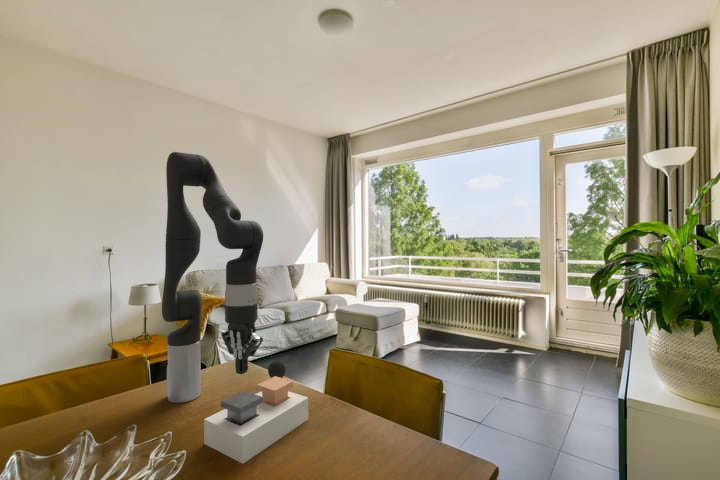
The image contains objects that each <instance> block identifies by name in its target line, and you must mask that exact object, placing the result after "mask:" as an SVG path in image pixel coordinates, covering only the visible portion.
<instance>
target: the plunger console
mask: <svg viewBox="0 0 720 480" xmlns="http://www.w3.org/2000/svg"><path fill="white" fill-rule="evenodd" d="M254 394H255V395H258V396H261V397H262V392H261V391H259V392H257V393H254ZM308 420H309V397H308V396H305V395H301V394H299V393H295V392H292V391H289V390H288V400H286V401H284V402H282V403H281V404H279V405H277V406H272V405H269V404H266V403H261V404H259V405H257V417H256V418H254V419H252V420H250V421H249V422H247V423H245V424H243V425H242V426H239V425H236V424H234V423H232V422H229V421H227V409H225V408H223V409H222V410H219V411H218V412H215V413H214V414H211V415H210V416H208V417H206V418H204V419H203V431H204V432H203V437H204V438H203V439H204V440H203V443H204V444H203V445H205V446H208V447H209V448H211V449H214V450H215V451H218V452H219V453H221V454H223V455H225V456H227V457H229V458H230V459H233V460H235V461H237V462H238V463H241V464H245V463H246V462H248V461H249V460H251V459H252V458H254V457H256V456H257V455H259V453H262V452H263V451H264V450H266V449H268V448H269V447H270V446H271V445H273V444H275V443H276V442H277V441H279V440H280V439H282V438H283V437H285V436H286V435H287V434H289V433H290V432H292V431H293V430H296V429H297V427H299V426H301V425H302V424H304V423H305V422H306V421H308Z"/></svg>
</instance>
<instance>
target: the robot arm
mask: <svg viewBox="0 0 720 480" xmlns="http://www.w3.org/2000/svg"><path fill="white" fill-rule="evenodd" d="M165 169H166V171H165V172H166V174H165V176H166V178H165V179H166V197H167V214H166V215H167V218H166V229H165V268H164V269H165V270H164V279H163V280H164V282H163V288H162V289H163V291H162V299H161V300H162V301H161V316H162V318H163V321H165V322H167V323H175V322H182V321H187V322H186V323H185V324H184V325H183V326H181V327H180V328H178V329H175V330H174V331H171V332H170V333H169V334H168V336H167V366H166V397H167V401H168V402H170V403H173V404H182V403H188V402H190V401H193V400H195V399H197V398H199V397H200V395H201V388H202V387H201V385H202V384H201V380H202V379H201V378H202V377H201V376H202V375H201V366H202V365H201V364H202V363H201V361H202V359H201V355H202V354H201V349H202V348H201V333H202V332H201V328H202V325H201V324H202V309H203V307H202V305H203V302H202V301H203V300H202V299H203V298H202V295H201V292H200V291H199V290H198V289H189V290H188V289H187V290H178V287H179V283H180V281H181V279H182V278H183V276H184V275H185V273H186V271H188V269H189V268H190V266H191V265H192V264H193V263H194V262H195V260H196V259H197V257H198V256H199V254H200V250H201V236H202V235H201V233H202V232H201V229H200V226H199V223H198V222H197V220H196V218H195V217H194V215H193V214H192V212H191V211H190V209H189V207H188V206H187V203H186V200H185V195H184V187H185V186H186V187H196V188H197V187H202V188H203V189H204V190H205V191H204V193H203V196H202V206H203V208H204V211H205V213H206V215H207V216H208V217H209V218H210V219H211V221H212V223H213V225H214V230H215V231H216V237H217V241H218V242H219V244H220V245H221V246H222V247H223V248H225V249H227V250H228V249H229V250H241V254H240V255H239V256H238V257H237V258H233V259H230V260H228V261H227V263H226V265H225V284H226V285H225V289H224V291H225V292H224V321H225V323H226V324H228V325H227V329H226V330H225V331H223V332H221V335H220V336H221V338H222V339H223V342H224V344H225V347H226V349H227V350H228V353H229V354H230V355H233V358H234V359H235V363H234V364H235V368H234V369H235V373H236V374H239V375H244V374H246V373H247V372H248V370H249V357H252V356H255V354H256V353H257V351H258V349H259V348H260V346H261V345H262V343H263V340H264V338H263V336H259V335H258V334H257V333H256V331H257V328H256V326H255V325H256V324H255V323H256V321H257V320H258V319H259V318H258V314H259V313H258V312H259V311H258V309H259V308H258V285H257V265H258V261H259V257H260V253H261V250H262V245H263V243H264V231H263V229H262V226H261V225H260V224H259V222H257V221H255V220H243V219H241V218H242V213H241V210H240V209H239V207H238V206H237V204H235V202H234V201H233V200H232V199H231V198H230V196H229V195H228V194H227V192H226V191H225V189H224V188H223V185H222V183H221V181H220V179H219V176H218V175H217V172H216V170H215V169H214V167H213V165H212V163H211V161H210V160H209V159H208V158H207V157H206V156H204V155H201V154H193V153H187V152H179V151H173V152H170V154H169V155H168V157H167V160H166V167H165Z"/></svg>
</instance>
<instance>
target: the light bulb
mask: <svg viewBox="0 0 720 480" xmlns="http://www.w3.org/2000/svg"><path fill="white" fill-rule="evenodd" d="M286 370H287V367H286V364H285V363H284V362H283V361H282V360H279V359H276V360H272V362H271V363H270V364H269V366H268V367H267V372H268V376H269V377H270V378H273V377H275V376H276V377H280V378H283V379H284V376H285V375H286Z"/></svg>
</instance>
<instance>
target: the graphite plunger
mask: <svg viewBox="0 0 720 480" xmlns="http://www.w3.org/2000/svg"><path fill="white" fill-rule="evenodd" d="M255 394H256V393H252V392H249V391H246V390H242V391H241V392H238V393H236V394H234V395H231V396H229V397H227V398H225V399H223V400H221V401H220V404H221V405H220V406H221V408H223V409H227V421H229V422H232V423H234V424H236V425H239V426H242V425H243V424H245V423H247V422H249V421H250V420H252V419H254V418H256V417H257V405H259V404H261V403H263V397H261V396H258V395H255Z"/></svg>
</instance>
